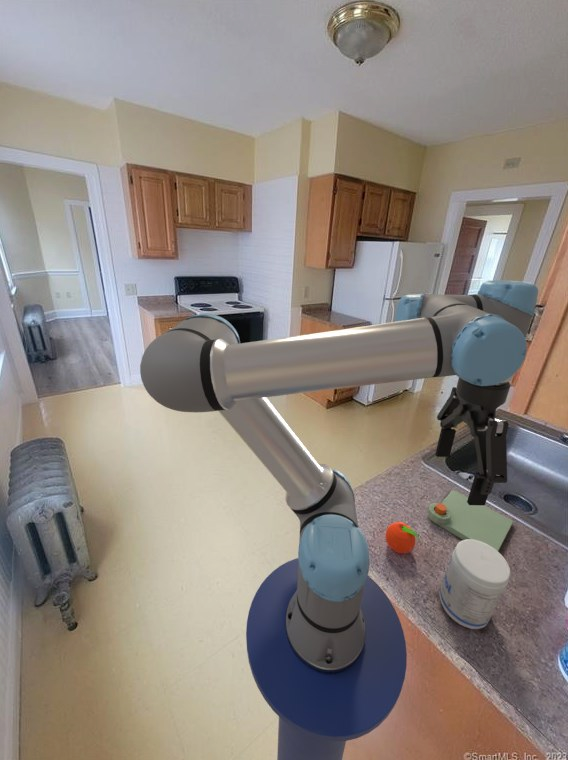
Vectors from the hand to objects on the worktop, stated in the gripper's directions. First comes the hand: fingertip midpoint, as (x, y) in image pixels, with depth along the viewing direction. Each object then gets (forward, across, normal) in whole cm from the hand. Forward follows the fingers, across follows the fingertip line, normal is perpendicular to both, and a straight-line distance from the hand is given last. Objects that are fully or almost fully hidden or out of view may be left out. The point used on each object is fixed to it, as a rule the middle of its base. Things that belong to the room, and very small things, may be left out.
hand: (457, 477), depth 62 cm
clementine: (+28, +7, +5) cm, 30 cm away
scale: (+29, +16, -17) cm, 37 cm away
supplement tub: (+29, -7, -4) cm, 30 cm away
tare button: (+25, +16, -8) cm, 31 cm away
